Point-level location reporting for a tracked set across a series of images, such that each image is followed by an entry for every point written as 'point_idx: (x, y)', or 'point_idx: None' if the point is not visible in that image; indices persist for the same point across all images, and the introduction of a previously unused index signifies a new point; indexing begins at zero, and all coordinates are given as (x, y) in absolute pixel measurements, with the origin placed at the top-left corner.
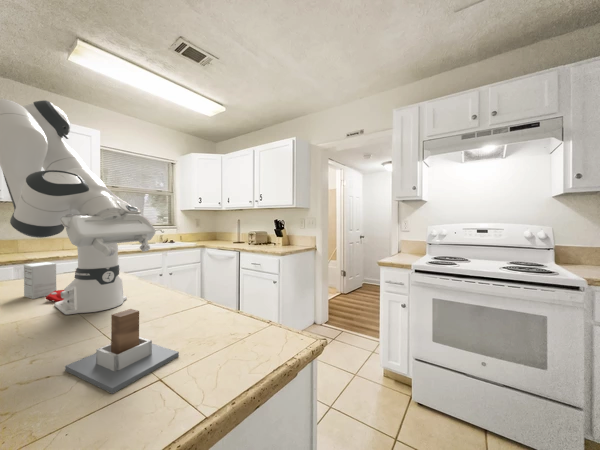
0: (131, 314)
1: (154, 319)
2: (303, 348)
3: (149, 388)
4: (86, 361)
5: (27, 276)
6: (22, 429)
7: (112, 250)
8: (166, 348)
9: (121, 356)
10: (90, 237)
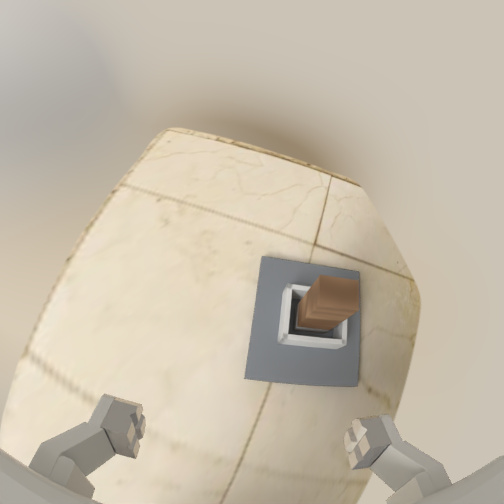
0: (335, 278)
1: None
2: (193, 136)
3: (331, 243)
4: (339, 369)
5: None
6: (413, 304)
7: (372, 420)
8: (259, 282)
9: None
10: (480, 470)
